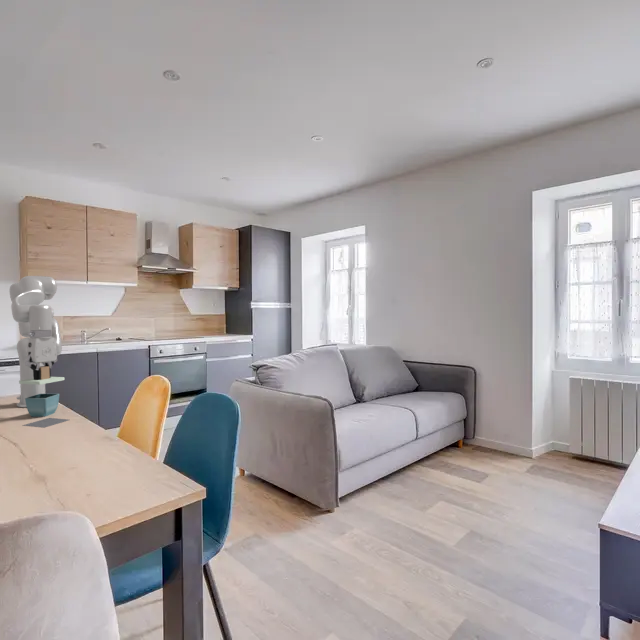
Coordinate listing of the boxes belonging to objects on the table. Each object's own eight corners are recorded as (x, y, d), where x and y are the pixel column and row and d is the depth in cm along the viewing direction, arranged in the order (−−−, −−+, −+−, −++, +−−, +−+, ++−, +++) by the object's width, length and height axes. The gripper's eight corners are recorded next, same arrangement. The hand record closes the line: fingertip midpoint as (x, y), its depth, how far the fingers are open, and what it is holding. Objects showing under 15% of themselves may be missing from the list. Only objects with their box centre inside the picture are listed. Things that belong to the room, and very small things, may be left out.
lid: (19, 383, 163) (18, 368, 163) (44, 379, 174) (44, 364, 174) (39, 384, 160) (39, 369, 160) (64, 380, 171) (64, 365, 170)
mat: (22, 428, 152) (22, 425, 152) (49, 420, 163) (49, 417, 163) (44, 430, 149) (44, 427, 149) (70, 422, 159) (70, 419, 159)
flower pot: (46, 420, 163) (45, 398, 163) (24, 420, 163) (24, 398, 163) (60, 414, 172) (60, 393, 172) (40, 414, 172) (39, 393, 172)
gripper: (28, 335, 157) (29, 382, 158) (65, 333, 173) (67, 376, 174) (13, 335, 160) (15, 382, 160) (52, 333, 175) (53, 375, 176)
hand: (42, 378), depth 167 cm, fingers closed on lid, 3 cm apart
